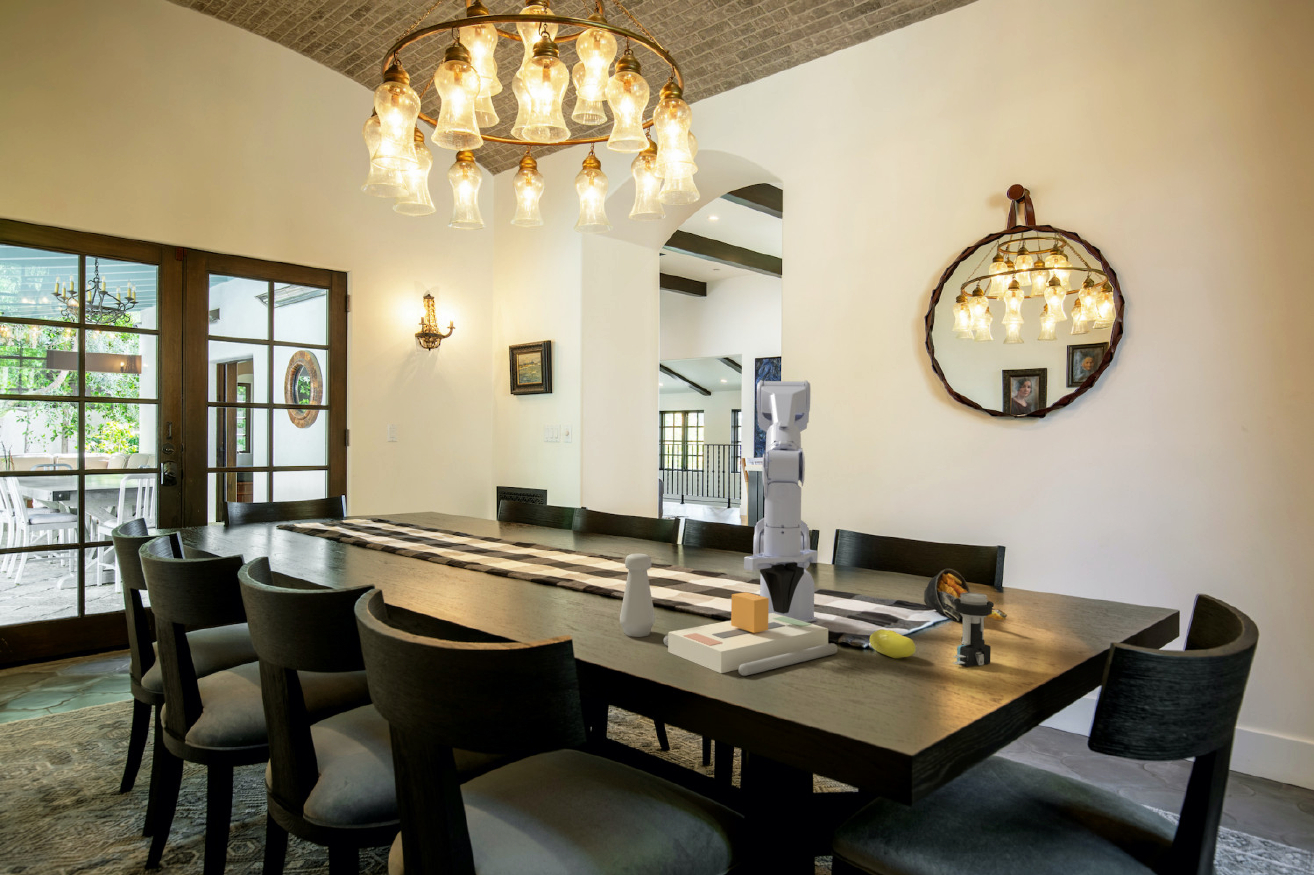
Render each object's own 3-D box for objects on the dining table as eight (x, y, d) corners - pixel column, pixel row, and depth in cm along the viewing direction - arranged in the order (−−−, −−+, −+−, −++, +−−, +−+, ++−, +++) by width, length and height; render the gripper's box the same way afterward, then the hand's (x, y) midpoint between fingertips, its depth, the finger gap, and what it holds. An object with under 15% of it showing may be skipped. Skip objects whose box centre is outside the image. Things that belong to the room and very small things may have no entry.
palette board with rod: (753, 627, 127) (753, 617, 127) (839, 654, 112) (839, 643, 112) (661, 645, 115) (661, 635, 115) (743, 678, 100) (743, 666, 100)
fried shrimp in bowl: (947, 581, 145) (1028, 566, 130) (945, 637, 140) (1028, 628, 125) (912, 566, 142) (991, 549, 127) (908, 623, 137) (990, 612, 122)
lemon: (882, 647, 116) (882, 622, 116) (922, 661, 109) (922, 635, 109) (862, 650, 114) (862, 625, 114) (901, 665, 107) (902, 638, 107)
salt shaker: (650, 639, 118) (651, 558, 118) (615, 637, 119) (616, 556, 119) (657, 630, 124) (659, 552, 124) (624, 627, 125) (625, 550, 125)
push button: (969, 672, 104) (971, 601, 104) (938, 662, 108) (939, 593, 108) (1000, 666, 107) (1001, 596, 107) (969, 656, 112) (970, 589, 112)
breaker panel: (772, 630, 125) (772, 612, 125) (827, 647, 115) (828, 627, 115) (668, 651, 112) (668, 631, 112) (720, 673, 102) (721, 650, 102)
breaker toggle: (745, 622, 116) (745, 592, 116) (768, 629, 112) (768, 598, 112) (731, 625, 114) (731, 594, 114) (753, 632, 110) (754, 600, 110)
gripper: (767, 531, 110) (766, 623, 110) (832, 525, 118) (831, 610, 118) (735, 526, 115) (733, 613, 115) (799, 521, 124) (798, 602, 124)
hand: (781, 611), depth 117 cm, fingers closed
